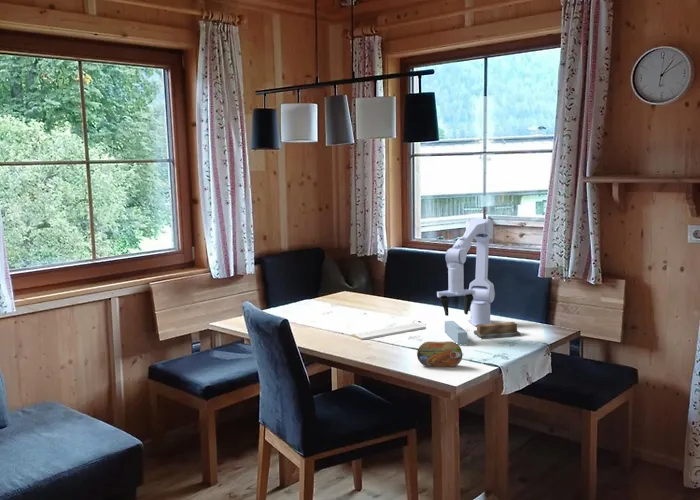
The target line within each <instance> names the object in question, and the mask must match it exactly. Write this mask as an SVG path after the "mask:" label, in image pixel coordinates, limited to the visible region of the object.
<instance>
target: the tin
mask: <svg viewBox="0 0 700 500" xmlns="http://www.w3.org/2000/svg"><path fill="white" fill-rule="evenodd" d="M416 357H417V360H418V362H419V363H420V364H421V365H422V366H425V367H427V368H454V367H457V366H458V365H459V364H460V363H461V361H462V359H463V351H462V347H461V345H458V344H456V343H455V342H454V341H424V343H421V344H420V345H419V347H418V349H417V352H416Z"/></svg>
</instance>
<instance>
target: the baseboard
mask: <svg viewBox="0 0 700 500" xmlns="http://www.w3.org/2000/svg"><path fill="white" fill-rule="evenodd" d="M416 322H417V323H416ZM420 323H421V324H420ZM426 325H427V324H426V323H425V324H422V321H420V320H418V321H417V320H415V321H412V323H407V324H402V325H397V326H391V327H386V328H385V327H384V328H380V329H373V330H368V331H362V332H357V333H352V334H351V335H350V336H351V337H354V338H355V339H357V340H360V341H365V340H371V339H376V338H382V337H387V336H388V337H389V336H394V335H398V334H404V333H409V332H410V333H411V332H416V331H420V329H421V330H425V329H426V327H427V326H426Z"/></svg>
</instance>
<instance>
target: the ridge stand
mask: <svg viewBox="0 0 700 500" xmlns="http://www.w3.org/2000/svg"><path fill="white" fill-rule="evenodd" d="M473 334H474V335H475V336H476V335H477V336H476V337H478V338H479V339H480V338H485V339H498V337H499V338H510V337H521V334H522V333H521V332H520V331H519V330H518V324H517V323H516V322H515V321H509V322H494V323H493V322H492V323H491V324H477V326H476V330H473Z"/></svg>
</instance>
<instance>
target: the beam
mask: <svg viewBox="0 0 700 500" xmlns="http://www.w3.org/2000/svg"><path fill="white" fill-rule="evenodd" d="M445 333H446V334H447V335H446V334H445ZM444 334H445V335H446V336H448V337H449V339H451V340H452V342H454V343H457V344H458V345H459V346H461V345H460V344H467V345H468V332H467V331H466V330H465V328H463V327H461V326H460V325H459V324H458V323H457V322H456V321H454V320H445V321H444Z"/></svg>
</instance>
